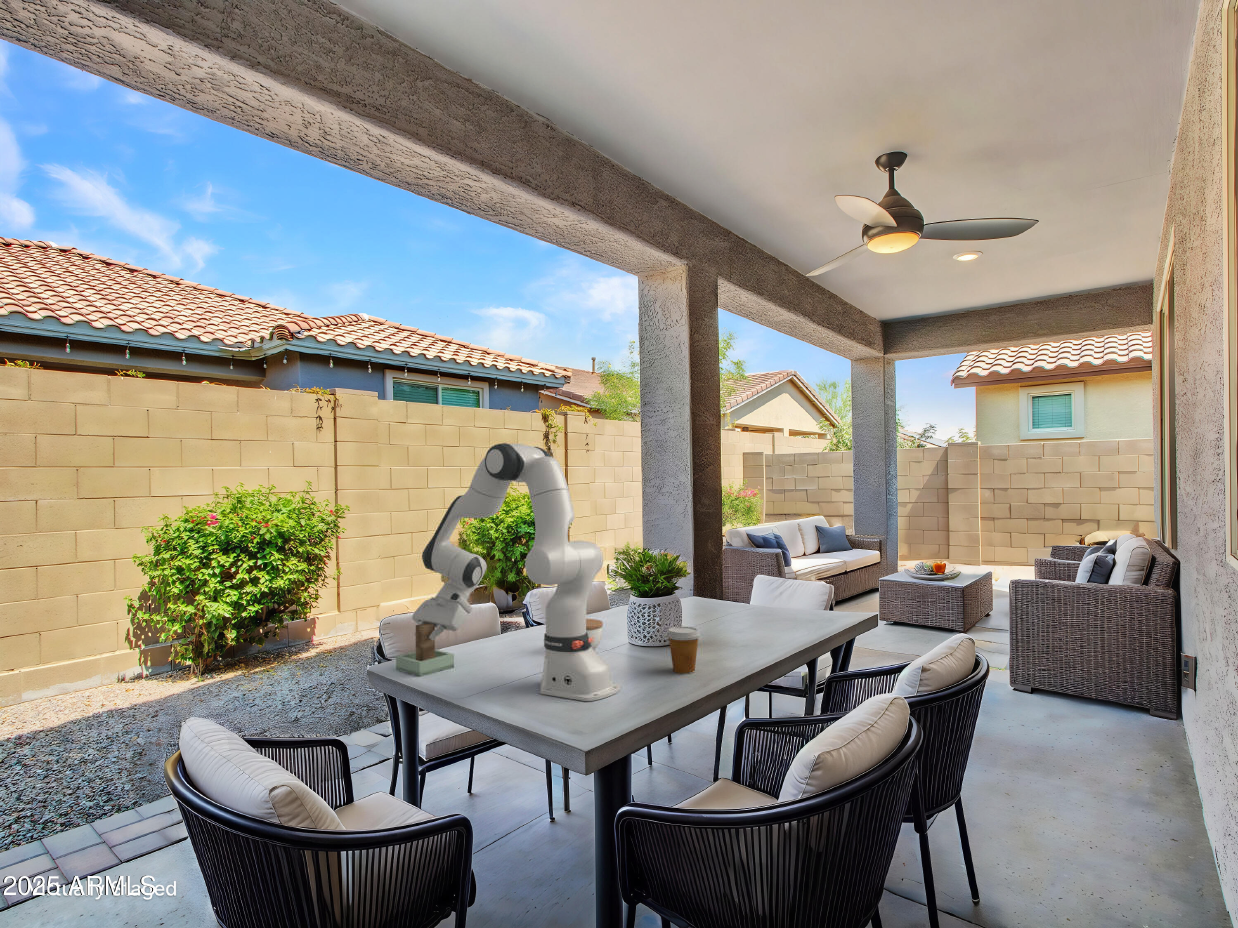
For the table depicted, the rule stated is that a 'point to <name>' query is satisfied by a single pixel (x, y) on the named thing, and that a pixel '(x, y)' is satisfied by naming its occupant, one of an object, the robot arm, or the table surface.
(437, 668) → the tray
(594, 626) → the lidded bowl
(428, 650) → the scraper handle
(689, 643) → the disposable coffee cup
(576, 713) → the table surface
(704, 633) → the table surface
